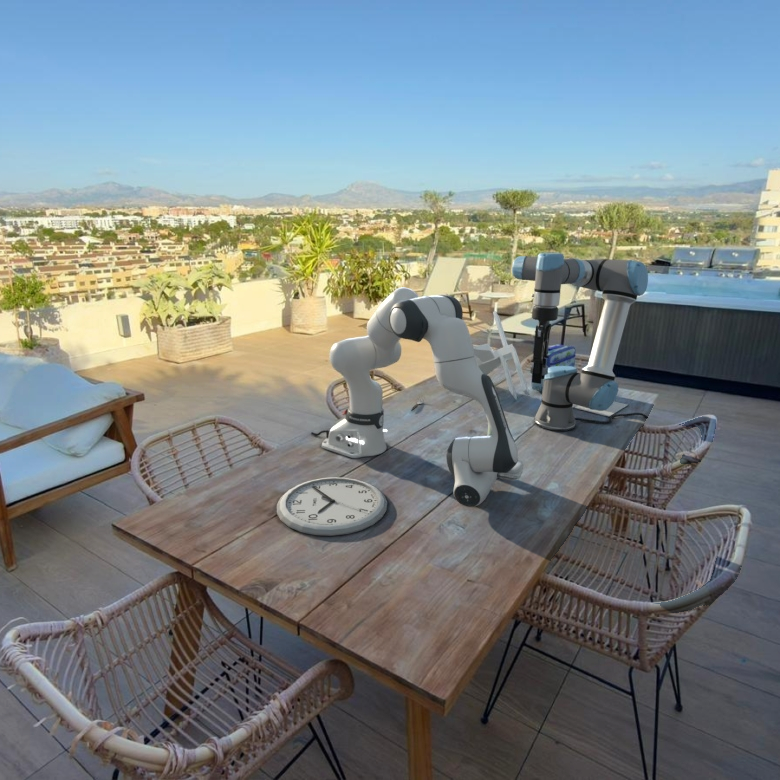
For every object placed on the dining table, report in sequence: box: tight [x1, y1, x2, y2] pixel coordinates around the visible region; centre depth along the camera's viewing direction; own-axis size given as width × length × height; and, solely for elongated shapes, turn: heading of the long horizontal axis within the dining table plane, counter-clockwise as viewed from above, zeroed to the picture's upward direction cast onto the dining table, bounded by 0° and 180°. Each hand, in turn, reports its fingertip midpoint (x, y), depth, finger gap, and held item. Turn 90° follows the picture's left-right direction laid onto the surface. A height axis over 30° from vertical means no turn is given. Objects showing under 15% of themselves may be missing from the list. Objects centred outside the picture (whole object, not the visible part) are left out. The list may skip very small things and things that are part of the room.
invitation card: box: [573, 401, 629, 418], centre depth 226 cm, size 21×1×15 cm
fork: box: [410, 395, 425, 412], centre depth 222 cm, size 3×16×2 cm, turn 160°
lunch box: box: [530, 344, 577, 392], centre depth 247 cm, size 26×11×21 cm, turn 134°
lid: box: [529, 363, 548, 375], centre depth 163 cm, size 5×5×2 cm
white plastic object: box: [473, 310, 531, 400], centre depth 245 cm, size 37×45×31 cm
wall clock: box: [276, 476, 388, 537], centre depth 142 cm, size 30×2×30 cm
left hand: (493, 454), depth 162 cm, fingers closed on jar, 4 cm apart
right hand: (538, 380), depth 164 cm, fingers closed on lid, 5 cm apart
